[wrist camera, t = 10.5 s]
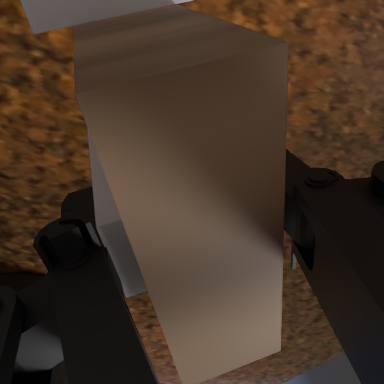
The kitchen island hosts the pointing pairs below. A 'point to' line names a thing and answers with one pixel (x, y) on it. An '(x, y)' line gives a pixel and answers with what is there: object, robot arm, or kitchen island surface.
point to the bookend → (189, 165)
